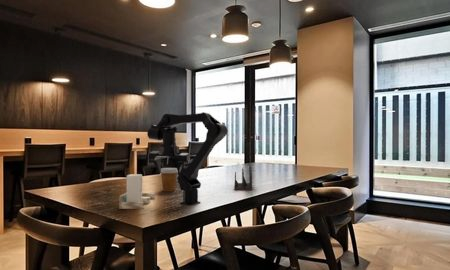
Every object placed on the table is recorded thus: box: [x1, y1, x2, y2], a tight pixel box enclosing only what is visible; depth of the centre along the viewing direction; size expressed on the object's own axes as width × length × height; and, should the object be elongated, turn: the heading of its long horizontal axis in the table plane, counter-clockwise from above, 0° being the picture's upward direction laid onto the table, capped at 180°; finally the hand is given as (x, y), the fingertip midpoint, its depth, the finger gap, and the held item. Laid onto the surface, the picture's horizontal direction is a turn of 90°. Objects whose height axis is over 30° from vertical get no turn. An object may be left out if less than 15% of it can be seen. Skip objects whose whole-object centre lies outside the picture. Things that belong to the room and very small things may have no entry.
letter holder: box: [233, 163, 253, 191], centre depth 172 cm, size 10×20×14 cm, turn 178°
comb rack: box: [118, 191, 156, 210], centre depth 129 cm, size 10×21×5 cm, turn 0°
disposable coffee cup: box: [160, 167, 178, 192], centre depth 161 cm, size 10×10×12 cm
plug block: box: [126, 173, 143, 202], centre depth 123 cm, size 5×5×13 cm
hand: (169, 174), depth 138 cm, fingers open, 9 cm apart
